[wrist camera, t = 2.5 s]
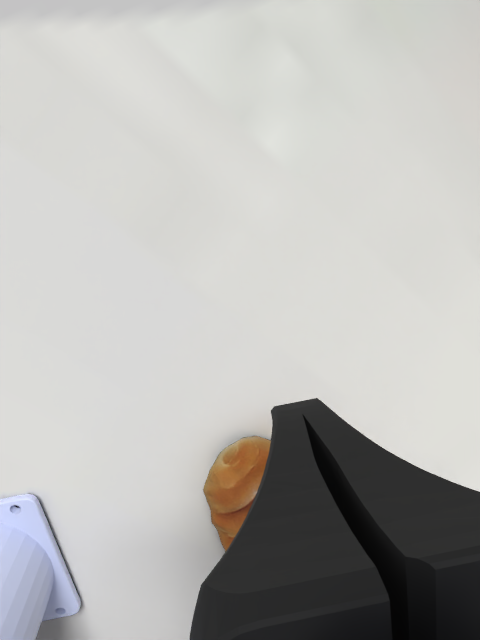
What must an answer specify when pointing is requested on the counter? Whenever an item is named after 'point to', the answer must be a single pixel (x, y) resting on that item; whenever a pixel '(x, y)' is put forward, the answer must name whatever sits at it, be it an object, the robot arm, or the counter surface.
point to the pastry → (235, 484)
